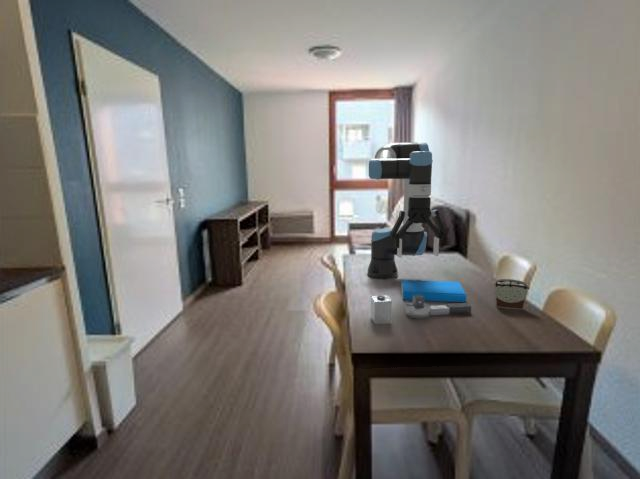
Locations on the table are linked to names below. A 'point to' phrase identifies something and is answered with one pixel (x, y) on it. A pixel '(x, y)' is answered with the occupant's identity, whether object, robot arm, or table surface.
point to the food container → (510, 293)
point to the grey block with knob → (381, 309)
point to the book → (433, 290)
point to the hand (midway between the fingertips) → (417, 256)
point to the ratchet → (434, 308)
